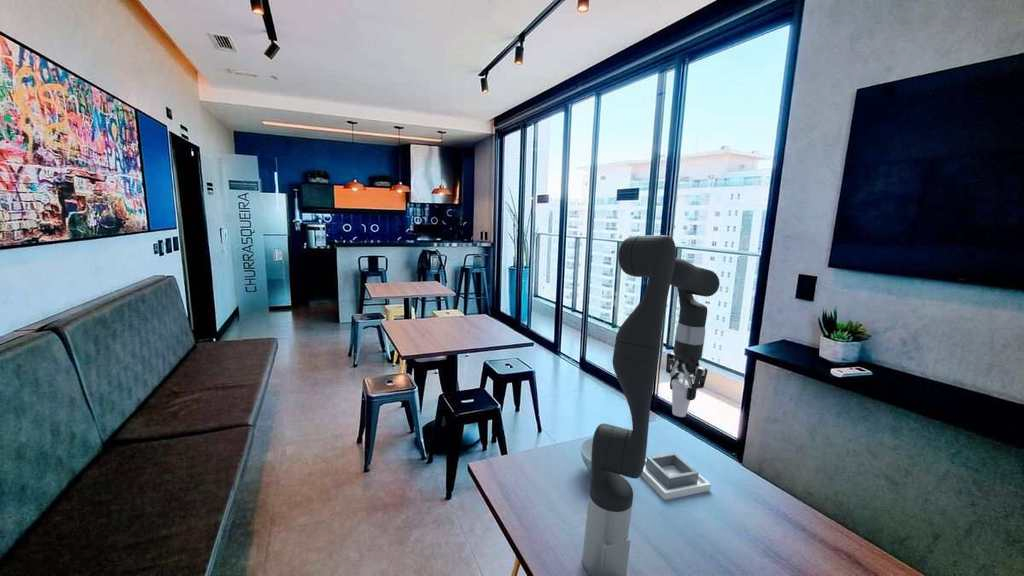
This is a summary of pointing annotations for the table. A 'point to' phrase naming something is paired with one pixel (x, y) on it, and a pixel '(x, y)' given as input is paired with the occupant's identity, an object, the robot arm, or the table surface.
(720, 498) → the table surface
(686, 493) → the white square tray
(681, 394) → the smoothie
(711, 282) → the robot arm
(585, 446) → the chinaware
